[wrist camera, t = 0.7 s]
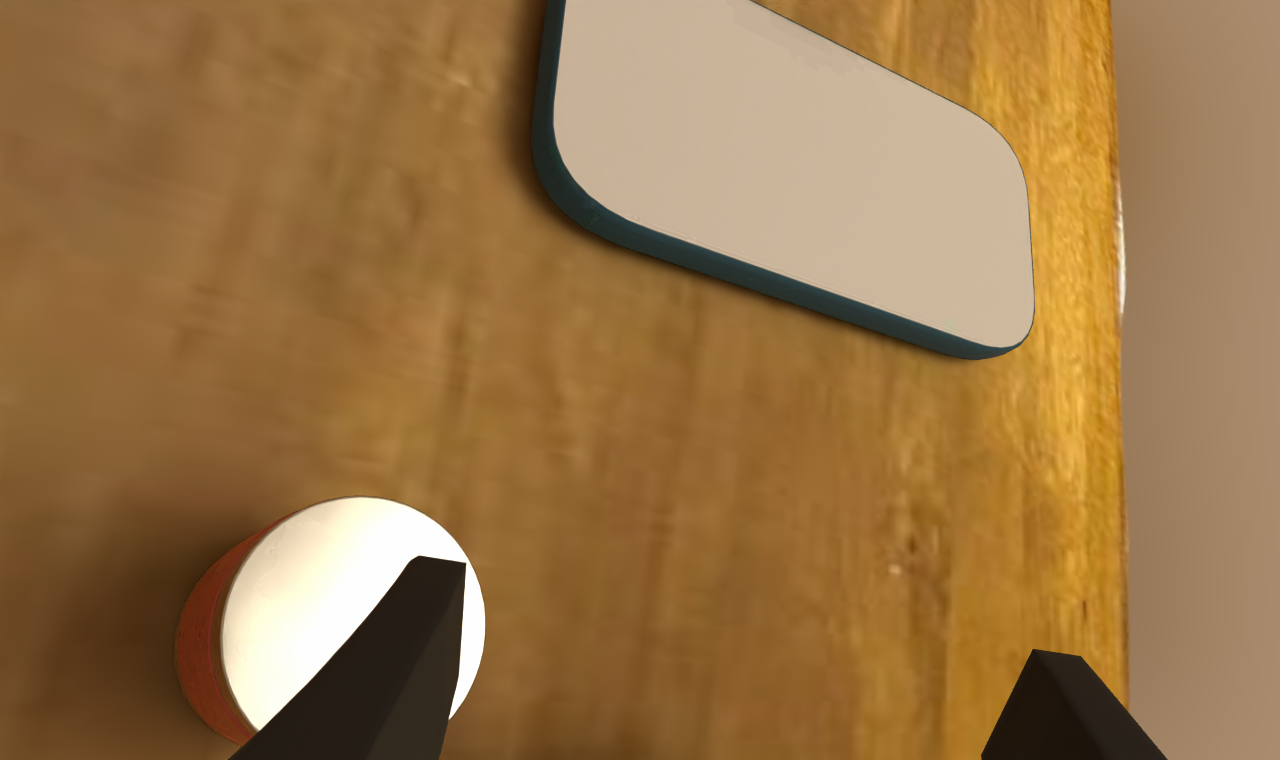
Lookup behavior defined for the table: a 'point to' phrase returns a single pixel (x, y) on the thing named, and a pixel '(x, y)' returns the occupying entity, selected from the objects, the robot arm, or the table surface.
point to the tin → (304, 606)
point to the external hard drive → (784, 168)
